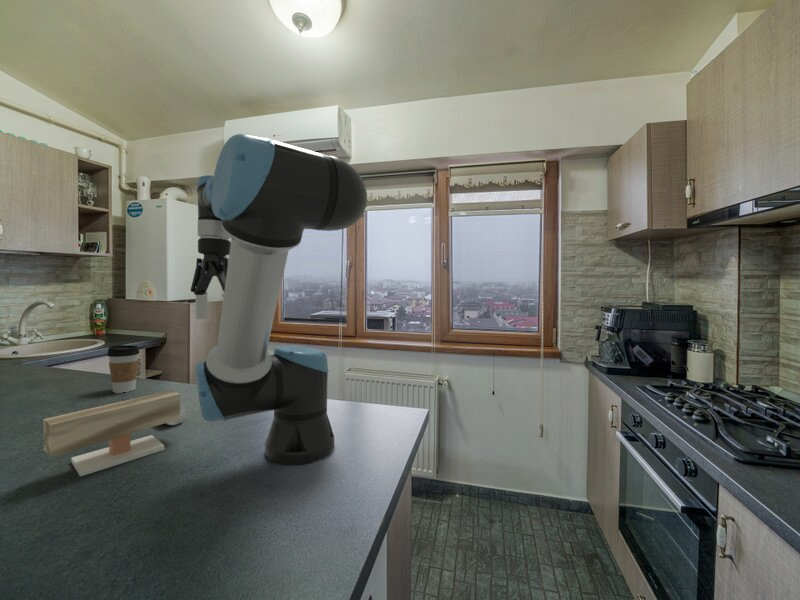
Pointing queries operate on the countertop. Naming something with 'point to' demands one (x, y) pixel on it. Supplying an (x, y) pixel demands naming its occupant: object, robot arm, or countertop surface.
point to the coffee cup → (123, 367)
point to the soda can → (182, 415)
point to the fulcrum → (116, 453)
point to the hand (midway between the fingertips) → (214, 320)
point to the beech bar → (108, 422)
